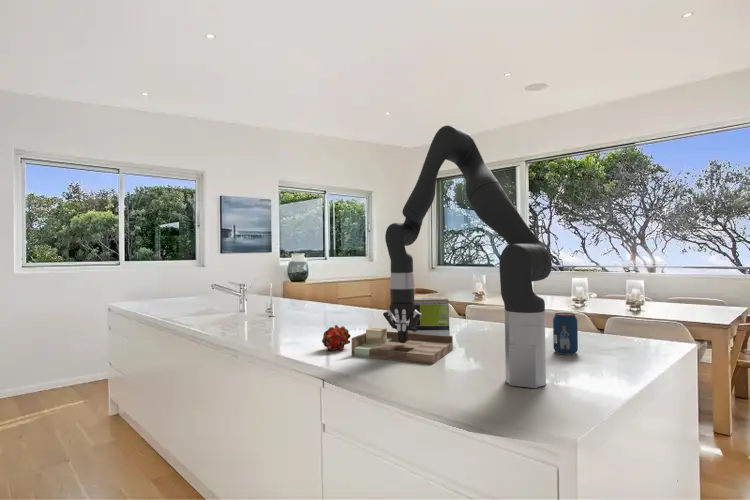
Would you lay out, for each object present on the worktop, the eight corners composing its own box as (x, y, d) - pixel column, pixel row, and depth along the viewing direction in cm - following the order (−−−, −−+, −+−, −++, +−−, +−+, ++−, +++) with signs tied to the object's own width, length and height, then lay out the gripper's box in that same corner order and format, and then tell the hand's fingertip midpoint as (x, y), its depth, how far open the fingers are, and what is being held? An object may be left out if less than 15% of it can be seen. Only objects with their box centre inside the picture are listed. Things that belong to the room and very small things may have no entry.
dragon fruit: (349, 351, 156) (328, 363, 146) (331, 334, 159) (309, 346, 149) (360, 332, 152) (339, 344, 142) (341, 316, 155) (319, 326, 145)
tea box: (448, 335, 174) (447, 296, 174) (449, 340, 164) (449, 299, 164) (408, 335, 175) (407, 296, 175) (407, 340, 165) (406, 299, 165)
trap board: (433, 363, 130) (433, 344, 130) (351, 356, 141) (351, 338, 141) (452, 349, 148) (452, 332, 148) (379, 343, 159) (378, 327, 159)
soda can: (570, 350, 146) (569, 312, 146) (582, 354, 139) (581, 315, 139) (549, 350, 145) (548, 312, 145) (560, 355, 138) (560, 315, 138)
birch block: (380, 345, 145) (380, 330, 145) (366, 343, 147) (365, 329, 147) (386, 342, 149) (386, 328, 149) (372, 341, 152) (372, 327, 152)
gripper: (377, 287, 144) (378, 343, 144) (418, 288, 138) (419, 346, 138) (387, 286, 151) (388, 339, 150) (426, 286, 145) (427, 341, 145)
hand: (403, 342), depth 144 cm, fingers closed
